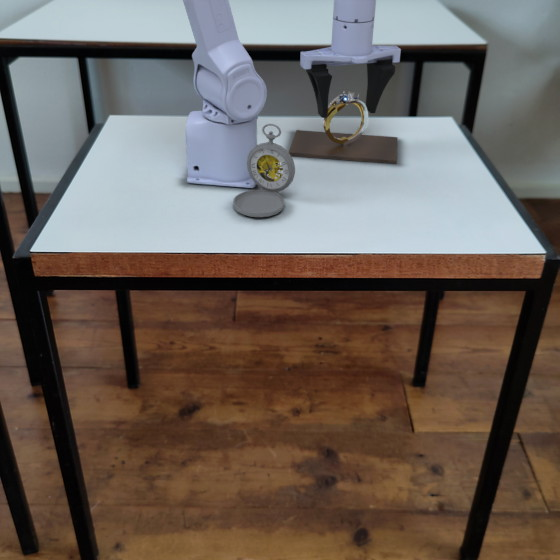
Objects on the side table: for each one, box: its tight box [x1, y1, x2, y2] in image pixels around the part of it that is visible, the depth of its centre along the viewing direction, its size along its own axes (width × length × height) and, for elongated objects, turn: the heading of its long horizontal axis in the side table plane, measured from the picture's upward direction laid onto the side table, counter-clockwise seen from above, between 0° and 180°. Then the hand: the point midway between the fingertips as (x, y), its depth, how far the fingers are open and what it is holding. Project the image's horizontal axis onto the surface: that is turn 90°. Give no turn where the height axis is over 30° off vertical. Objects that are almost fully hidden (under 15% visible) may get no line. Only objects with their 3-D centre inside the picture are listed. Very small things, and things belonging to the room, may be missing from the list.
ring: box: [322, 90, 369, 145], centre depth 104 cm, size 7×3×8 cm, turn 105°
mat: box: [288, 129, 398, 165], centre depth 106 cm, size 16×9×1 cm, turn 82°
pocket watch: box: [232, 123, 296, 218], centre depth 87 cm, size 8×8×10 cm
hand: (346, 113), depth 103 cm, fingers open, 7 cm apart
